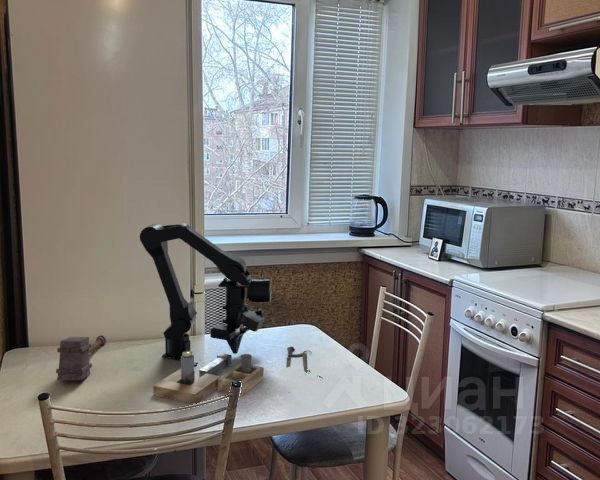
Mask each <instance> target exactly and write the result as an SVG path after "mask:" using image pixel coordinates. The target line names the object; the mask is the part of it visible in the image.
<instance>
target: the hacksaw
mask: <svg viewBox="0 0 600 480" xmlns="http://www.w3.org/2000/svg"><path fill="white" fill-rule="evenodd" d="M286 350H287V357H286V365H285V367H286V368H290V367H291V365H292V364H291V362H292V358H298V357H302V366H303V370H304V373H305V372H306V373H307V372H308V373H309V372H310V373H311V370H310V369H308V354H307V353H306V352H309V353H310V354H309V355H311V354H312V351H311V350H304V351H302V352H301V353H296V354H295V353H293V352H294V351H295V350H296V349H295V347H294V346H288V347H287V349H286ZM307 369H308V370H307ZM318 376H319V377H318V378H322V380H323V377H322V376H320V375H318Z"/></svg>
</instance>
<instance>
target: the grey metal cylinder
mask: <svg viewBox="0 0 600 480" xmlns="http://www.w3.org/2000/svg"><path fill="white" fill-rule="evenodd" d="M191 351H192V350H191ZM191 351H184V352H183V353H182V356H181V360H180V369H181V384H185V385H192V384H193V383H195V380H194V371H195V355H194V354H193V351H192V352H191Z"/></svg>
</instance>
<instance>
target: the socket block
mask: <svg viewBox="0 0 600 480" xmlns="http://www.w3.org/2000/svg"><path fill="white" fill-rule="evenodd" d="M195 373H196V371H195V370H194V383H193V384H192V385H185V384H181V368H180V369H179V368H178V370H176V371H175V372H173V373H171V374H170V375H168V376H166V377H165V378H163V379H161V380H160V381H158V382H157V383H155V384H153V387H152V388H153V389H152V390H153V396H157V397H160V398H161V397H162V398H166V399H169V400H173V401H174V400H175V401H179V402H184V403H189V404H192V403H196V404H197V403H199V402H200V401H202V400H203V399H204V398H205V397H207V396H208V395H209V394H211V393H212V392H213V391H215V390H217V389H218V379H219V378H220V377H221V376H220V375H216V374H215V375H212V374H207V373H206V374H205V375H203V376H202V377H200V378H199V377H198V380H197V381H196V379H195V376H196V375H195Z"/></svg>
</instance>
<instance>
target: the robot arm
mask: <svg viewBox="0 0 600 480" xmlns="http://www.w3.org/2000/svg"><path fill="white" fill-rule="evenodd" d="M139 240H140V243H141V244H142V246H143V248H144V250H145V251H146V253H148V255H149V256H150V257H151V259H153V263H154V267H155V268H156V271H157V273H158V276H159V280H160V283H161V285H162V288H163V290H164V294H165V295H166V299H167V301H168V302H167V303H168V304H169V305H168V306H169V320H170V324H169V325H168V327H167V328H166V329H165V331H163V333H162V334H163V335H164V341H165V343H164V345H165V346H164V347H165V349H164V350H165V353H163V354H162V358H168V359H172V360H176V361H177V360H178V361H181V356H182V353H183V352H184V351H191V352H192V353H193V351H192V350H191V340H190V334H188V332H189V331H190V330H191V329H192V327H193V325H195V322H196V320H197V314H198V312H197V311H196V309H195V307H194V305H195V304H194V302H193V301H190V302H188V301H187V300H186V298H185V297H184V295H183V292H182V289H181V286H180V283H179V280H178V278H177V274H176V273H175V269H174V267H173V264H172V261H171V258H170V255H169V253H168V252H169V249H168V245H169V243H168V242H169V241H173V240H182V241H183V242H184V243H185V244H187V245H188V246H190V247H191V248H192V249H193V250H195V251H197V252H198V253H199V254H201V255H202V256H203V257H205V258H206V259H208V260H209V261H211V263H213V264H214V265H215V266H216V268H217V269H218V270H219V272H220V273H221V274H222V275H223V276H224V278H223V279H222V281H220V282H219V284H218V288H225V289H224V291H225V300H224V301H225V303H224V305H222V310H224V311H225V316H224V317H225V318H223V319H222V324H217V325H215V326H214V327H212V328H211V329H210V332H209V334H210V336H209V337H210V338H211V339H218V340H223V341H226V343H227V344H228V346H229V348H230V350H231V352H232V354H234V355H236V354H238V352H239V349H240V346H241V342H242V339H243V337H244V335H245V334H246V333H247V332H248V331H252V332H257V331H258V330H260V329H261V328H262V326H263V323H265V322H266V316H265V315H266V314H265V310H263V309H261V308H260V309H257V311H255V310H250V306H249V304H248V303H246V297H247V300H248V302H249V301H250V303H251V304H252V303H254V304H255V303H256V304H257V303H259V304H260V303H261V304H271V302H272V295H273V294H272V291H273V290H272V284H271V279H269V278H264V279H257V278H256V279H255V278H254V276H253V275H252V274H251V272H250V271H249V270H248V268H247V262H246V261H245V260H244V259H243V258H242V257H239V256H237V255H236V254H235V253H232V252H231V253H230V252H227V251H225V250H223V249H221V248H220V247H218V246H217V245H216V244H214V243H213V242H211V241H210V240H209V239H207V238H206V237H204V236H203V235H202V234H201V233H199V232H198V231H196V230H195V229H194V228H192V227H191V226H190V225H189V224H188V223H185V222H182V223H178V224H168V225H161V224H159V223H153V224H151V225H148V226H147V227H144V228H142V230H141V231H140V234H139ZM225 324H226V325H225Z"/></svg>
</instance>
